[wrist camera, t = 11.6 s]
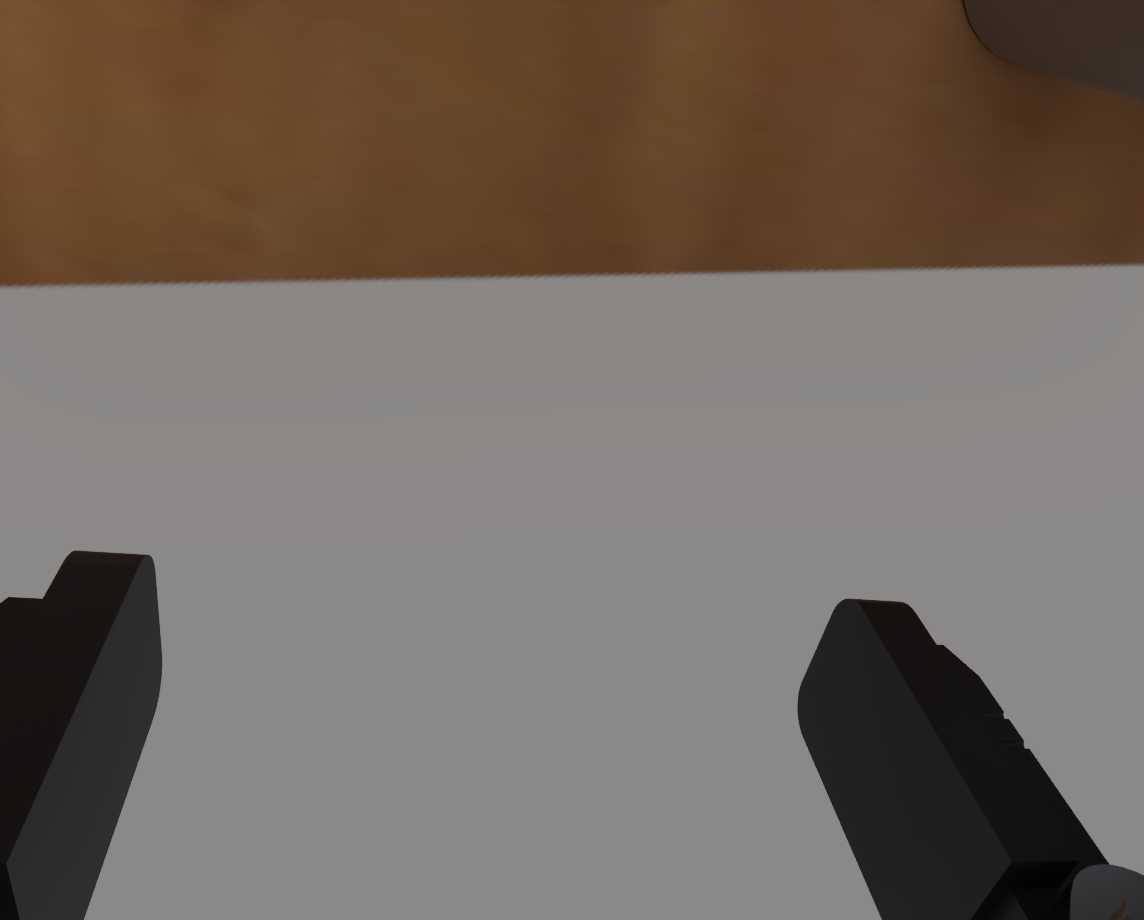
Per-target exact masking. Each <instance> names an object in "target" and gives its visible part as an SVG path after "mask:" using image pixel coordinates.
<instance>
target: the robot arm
mask: <svg viewBox="0 0 1144 920" xmlns="http://www.w3.org/2000/svg"><path fill="white" fill-rule="evenodd" d="M964 5H965V8H966V11H967V15H968V18H969V21H970V24H971V26H972V28H973V29H974V31H975V33H976V34H977V36H978V38H979V39H980V41H981V42H982V43H983V44H984V45H985V46H986V47H987V48H988V49H989V50H990V51H992V52H993V53H994V54H995V55H997V56H999V57H1001V58H1003V59H1005V60H1007V61H1009V62H1011V63H1014V64H1017V65H1021V66H1024V67H1027V68H1031V69H1034V70H1038V71H1041V72H1044V73H1048V74H1051V75H1054V76H1058V77H1060V78H1063V79H1066V80H1070V81H1073V82H1077V83H1080V84H1083V85H1087V86H1090V87H1094V88H1097V89H1100V90H1104V91H1107V92H1110V93H1114V94H1117V95H1121V96H1124V97H1127V98H1131V99H1134V100H1137V101H1141V102H1144V0H964ZM161 676H162V650H161V637H160V624H159V612H158V600H157V587H156V574H155V566H154V562H153V559H152V557H151V556H150V555H139V554H123V553H106V552H89V551H73V552H71V553H70V554H69V555H68V556H67V557H66V559H65V560H64V562H63V564H62V565H61V567H60V569H59V571H58V573H57V574H56V576H55V578H54V580H53V581H52V583H51V585H50V587H49V589H48V590H47V592H46V594H45V596H44V597H43V599H36V598H16V597H8V598H7V599H5V600H4V601H3V602H1V603H0V920H84V917H85V914H86V911H87V909H88V906H89V903H90V900H91V897H92V894H93V891H94V888H95V886H96V882H97V880H98V877H99V874H100V871H101V868H102V865H103V862H104V859H105V857H106V854H107V851H108V848H109V845H110V842H111V839H112V836H113V833H114V830H115V828H116V825H117V822H118V819H119V816H120V813H121V810H122V807H123V804H124V802H125V798H126V796H127V793H128V789H129V787H130V784H131V781H132V778H133V775H134V773H135V769H136V767H137V764H138V761H139V758H140V755H141V752H142V749H143V746H144V743H145V741H146V738H147V735H148V732H149V729H150V726H151V723H152V720H153V717H154V714H155V711H156V707H157V702H158V697H159V692H160V685H161ZM1003 713H1004V711H1003V710H1002V709H1001V707H1000V706H999V704H998V703H997V701H996V700H995V698H994V697H993V696H992V694H991V693H990V691H989V690H988V688H987V687H986V685H985V684H984V682H983V681H982V680H981V678H980V677H979V676H978V675H977V674H976V673H975V672H974V671H973V670H971V669H970V668H969V667H968V666H967V665H966V664H965V663H963V662H962V661H961V660H960V659H959V658H958V657H956V656H955V655H954V654H953V653H952V652H951V651H950V650H949V649H947V648H946V647H945V646H944V645H936V643H935V642H934V640H933V639H932V637H931V636H930V634H929V632H928V631H927V629H926V628H925V627H924V625H923V623H922V622H921V620H920V619H919V617H918V616H917V614H916V613H915V612H914V610H913V609H912V608H911V607H910V606H909V605H908V604H905V603H903V602H895V601H877V600H862V599H845V600H843V601H841V602H840V603H839V604H838V605H837V606H836V607H835V609H834V611H833V613H832V615H831V617H830V620H829V622H828V624H827V626H826V629H825V631H824V633H823V635H822V638H821V640H820V642H819V645H818V647H817V649H816V651H815V654H814V656H813V658H812V660H811V663H810V665H809V667H808V669H807V672H806V674H805V677H804V679H803V681H802V683H801V686H800V690H799V696H798V719H799V725H800V729H801V733H802V735H803V738H804V740H805V743H806V745H807V747H808V749H809V752H810V754H811V756H812V759H813V761H814V763H815V766H816V768H817V770H818V773H819V775H820V777H821V780H822V782H823V784H824V787H825V789H826V791H827V794H828V796H829V798H830V801H831V803H832V805H833V807H834V810H835V812H836V814H837V817H838V819H839V821H840V824H841V826H842V828H843V830H844V833H845V835H846V838H847V840H848V842H849V844H850V847H851V849H852V851H853V854H854V856H855V858H856V861H857V863H858V865H859V868H860V870H861V872H862V875H863V877H864V879H865V881H866V884H867V886H868V888H869V891H870V893H871V895H872V898H873V900H874V902H875V905H876V907H877V909H878V911H879V914H880V916H881V918H882V920H1144V875H1142V874H1139V873H1137V872H1135V871H1132V870H1129V869H1126V868H1123V867H1119V866H1114V865H1110V864H1109V863H1108V862H1107V860H1106V859H1105V858H1104V856H1103V855H1102V853H1101V852H1100V850H1099V849H1098V847H1097V846H1096V845H1095V843H1094V842H1093V840H1092V839H1091V837H1090V836H1089V835H1088V833H1087V831H1086V830H1085V829H1084V827H1083V826H1082V824H1081V823H1080V821H1079V820H1078V819H1077V817H1076V816H1075V814H1074V813H1073V811H1072V810H1071V808H1070V807H1069V805H1068V804H1067V803H1066V801H1065V800H1064V798H1063V797H1062V795H1061V794H1060V792H1059V791H1058V790H1057V788H1056V787H1055V785H1054V784H1053V782H1052V781H1051V779H1050V778H1049V777H1048V775H1047V774H1046V772H1045V771H1044V770H1043V768H1042V767H1041V765H1040V764H1039V762H1038V761H1037V759H1036V758H1035V757H1034V755H1033V753H1032V752H1031V751H1030V749H1025V748H1024V740H1023V739H1022V737H1021V736H1020V735H1019V733H1018V732H1017V730H1016V729H1015V727H1014V726H1013V724H1012V723H1011V721H1010V720H1009V719H1004V716H1003Z"/></svg>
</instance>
